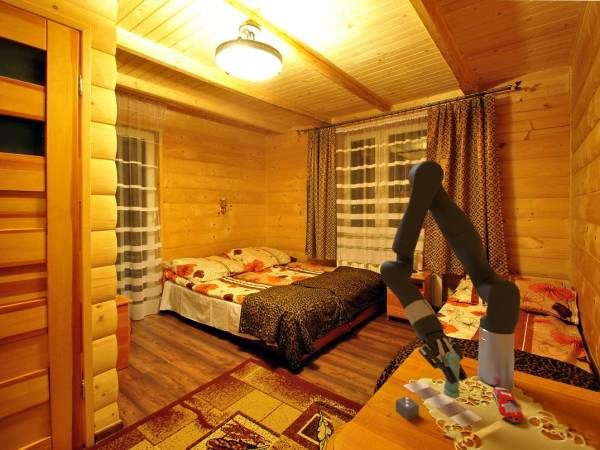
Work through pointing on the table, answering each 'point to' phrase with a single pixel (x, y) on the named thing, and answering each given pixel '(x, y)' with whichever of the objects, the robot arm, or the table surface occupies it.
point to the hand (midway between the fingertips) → (459, 380)
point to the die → (407, 408)
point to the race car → (507, 405)
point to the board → (443, 403)
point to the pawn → (454, 364)
